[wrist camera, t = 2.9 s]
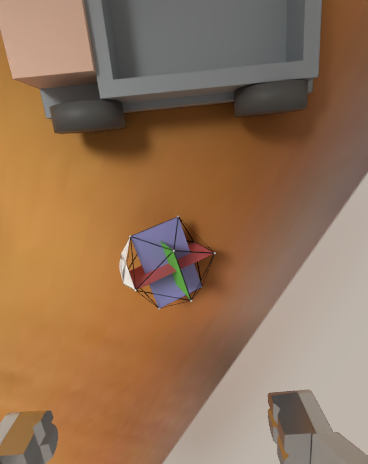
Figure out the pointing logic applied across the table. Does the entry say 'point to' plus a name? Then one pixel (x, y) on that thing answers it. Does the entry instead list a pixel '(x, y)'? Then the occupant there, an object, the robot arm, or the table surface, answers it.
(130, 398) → the table surface
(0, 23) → the toy truck
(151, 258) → the geometric puzzle
